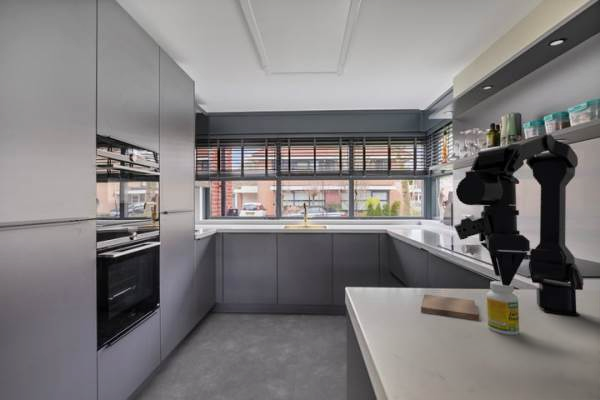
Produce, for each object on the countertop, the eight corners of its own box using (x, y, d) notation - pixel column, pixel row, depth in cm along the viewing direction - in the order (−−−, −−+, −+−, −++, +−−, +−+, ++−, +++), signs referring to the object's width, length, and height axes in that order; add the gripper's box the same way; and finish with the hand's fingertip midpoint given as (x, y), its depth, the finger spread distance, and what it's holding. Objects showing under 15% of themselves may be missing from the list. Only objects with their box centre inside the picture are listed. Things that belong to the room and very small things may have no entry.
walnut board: (474, 304, 76) (473, 300, 76) (478, 320, 65) (478, 314, 65) (424, 298, 81) (424, 294, 81) (421, 311, 71) (420, 306, 71)
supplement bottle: (494, 323, 63) (493, 279, 64) (523, 331, 59) (522, 284, 59) (482, 328, 60) (481, 282, 61) (512, 337, 56) (511, 287, 56)
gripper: (454, 206, 73) (456, 268, 72) (457, 205, 56) (459, 286, 56) (508, 205, 68) (510, 273, 67) (529, 204, 51) (532, 293, 51)
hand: (501, 280), depth 60 cm, fingers open, 9 cm apart
